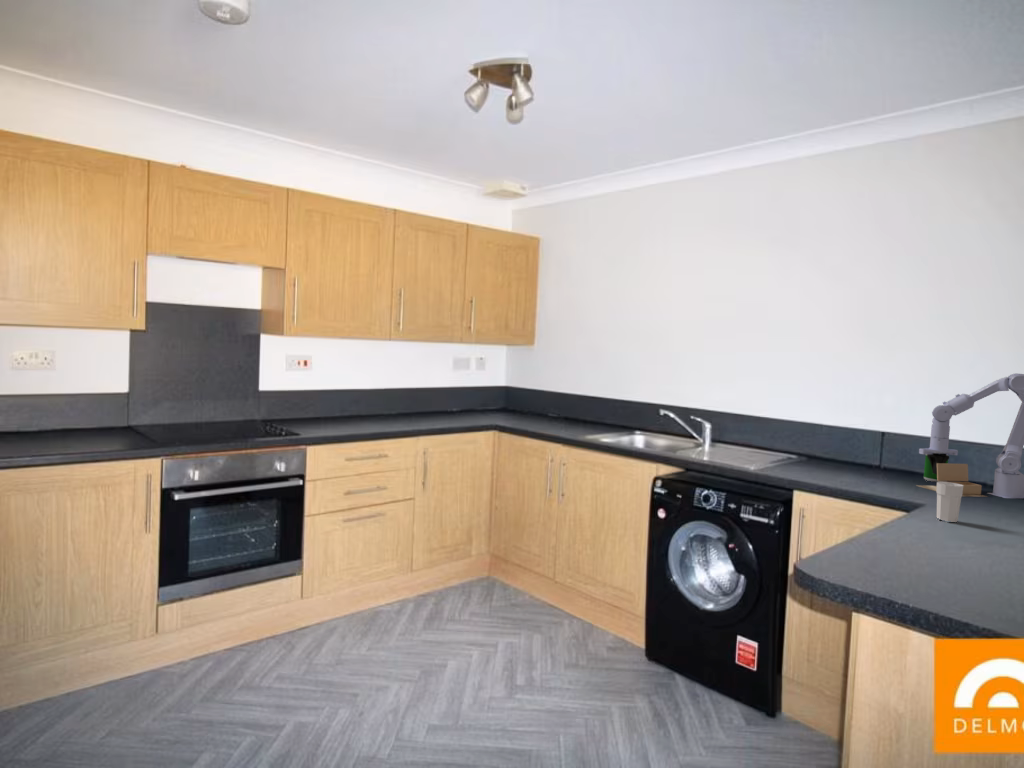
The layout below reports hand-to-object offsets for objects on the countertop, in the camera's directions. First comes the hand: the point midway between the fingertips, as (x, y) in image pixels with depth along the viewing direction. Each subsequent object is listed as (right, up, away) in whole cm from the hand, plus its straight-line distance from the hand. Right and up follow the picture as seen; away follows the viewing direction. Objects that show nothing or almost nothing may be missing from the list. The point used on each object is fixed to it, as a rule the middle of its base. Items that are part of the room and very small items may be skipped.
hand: (936, 473), depth 243 cm
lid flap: (+1, +2, -7) cm, 8 cm away
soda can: (+8, -5, +13) cm, 16 cm away
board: (+1, -6, -7) cm, 9 cm away
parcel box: (+1, -6, -10) cm, 12 cm away
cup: (-30, -7, -50) cm, 59 cm away
